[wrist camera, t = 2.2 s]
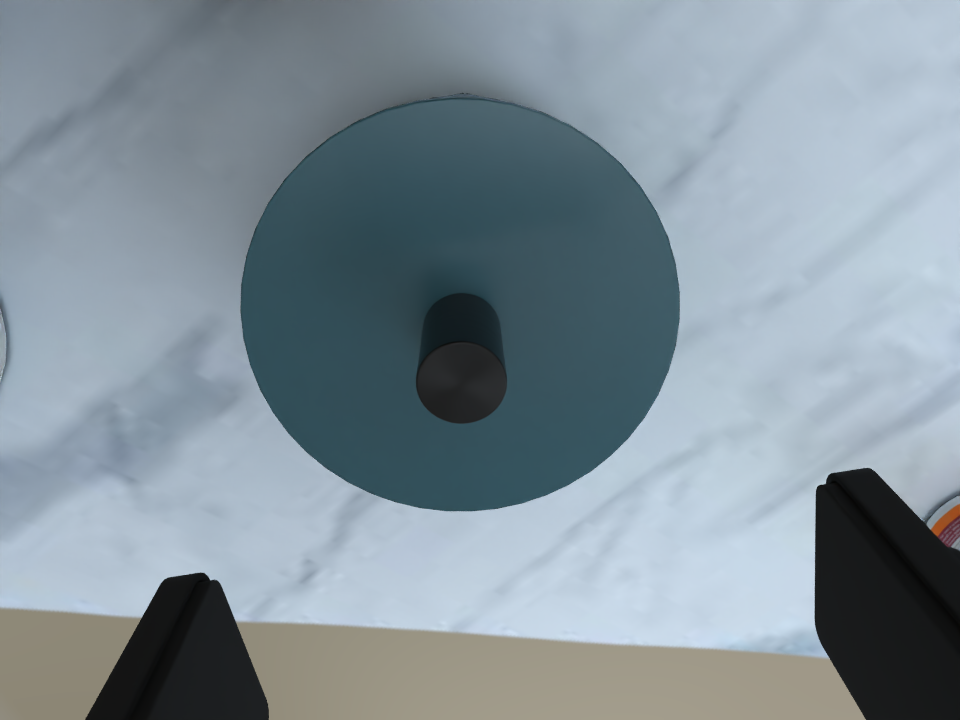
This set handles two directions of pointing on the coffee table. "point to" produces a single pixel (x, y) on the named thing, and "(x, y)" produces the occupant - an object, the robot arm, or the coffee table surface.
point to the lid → (460, 304)
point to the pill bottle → (947, 523)
